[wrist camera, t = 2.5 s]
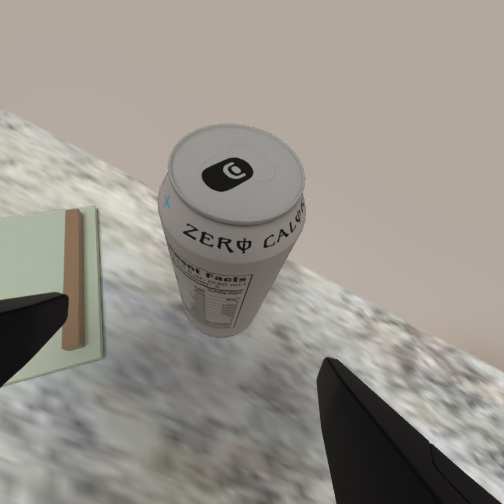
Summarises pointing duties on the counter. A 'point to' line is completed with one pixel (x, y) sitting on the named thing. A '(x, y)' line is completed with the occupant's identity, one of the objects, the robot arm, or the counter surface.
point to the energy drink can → (230, 221)
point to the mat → (56, 281)
